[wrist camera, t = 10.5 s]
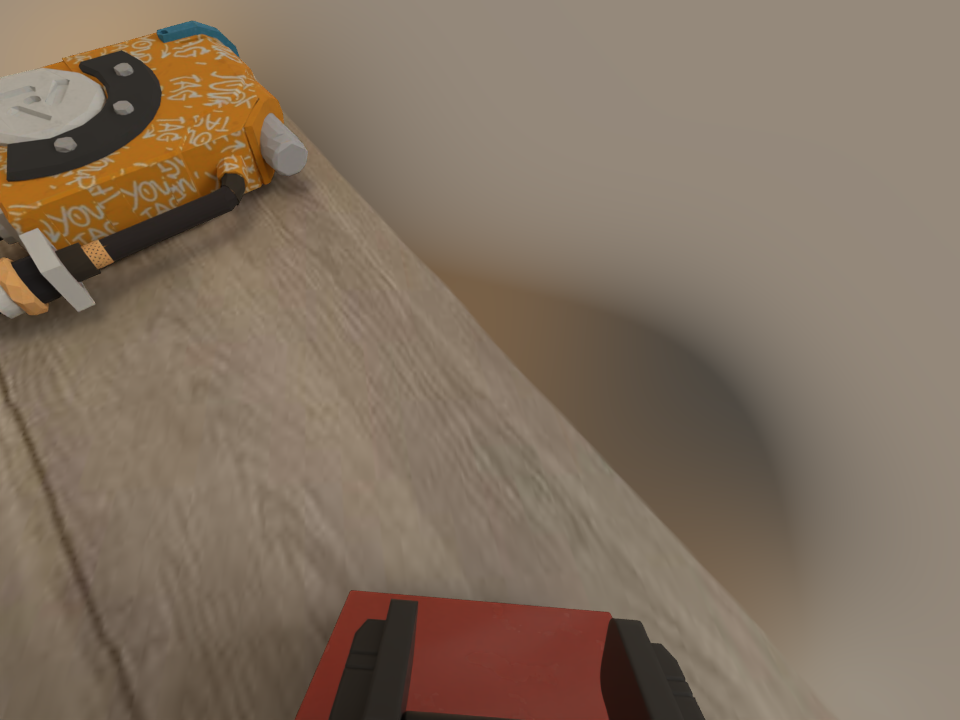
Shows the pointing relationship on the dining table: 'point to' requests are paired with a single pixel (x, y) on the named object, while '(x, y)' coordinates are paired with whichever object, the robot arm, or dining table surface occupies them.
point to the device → (127, 155)
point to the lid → (480, 660)
